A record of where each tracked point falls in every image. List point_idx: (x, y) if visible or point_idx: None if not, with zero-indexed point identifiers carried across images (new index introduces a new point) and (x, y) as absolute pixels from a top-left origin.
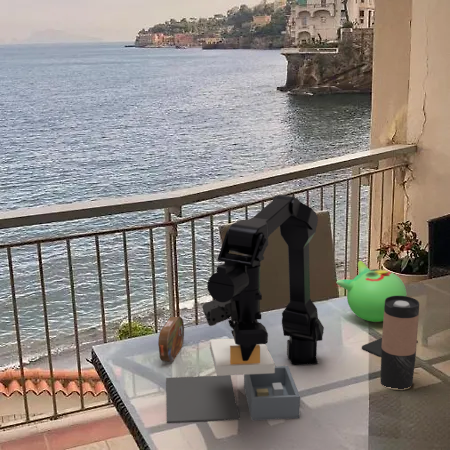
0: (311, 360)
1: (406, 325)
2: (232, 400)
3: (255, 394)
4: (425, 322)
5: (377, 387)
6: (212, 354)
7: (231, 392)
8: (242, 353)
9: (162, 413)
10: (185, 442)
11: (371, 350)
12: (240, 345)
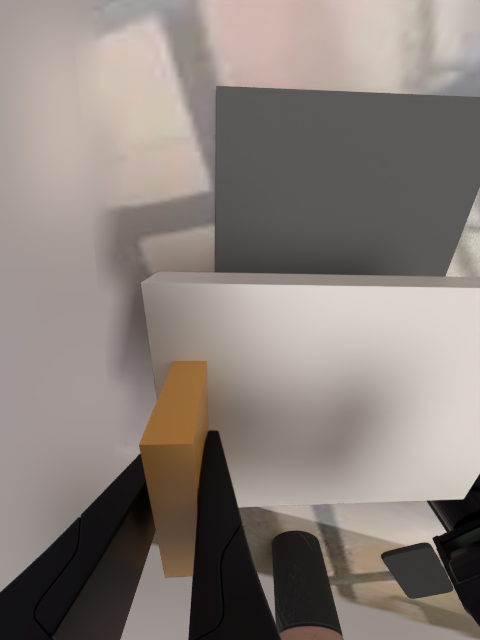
0: None
1: None
2: None
3: None
4: (466, 618)
5: (289, 524)
6: (402, 280)
7: None
8: (126, 473)
9: (278, 75)
10: (116, 149)
11: (408, 553)
12: (42, 554)
